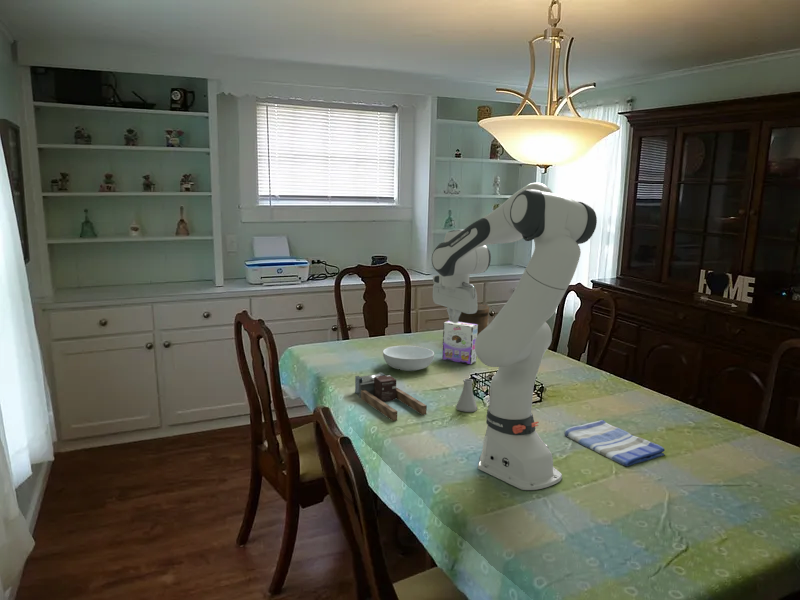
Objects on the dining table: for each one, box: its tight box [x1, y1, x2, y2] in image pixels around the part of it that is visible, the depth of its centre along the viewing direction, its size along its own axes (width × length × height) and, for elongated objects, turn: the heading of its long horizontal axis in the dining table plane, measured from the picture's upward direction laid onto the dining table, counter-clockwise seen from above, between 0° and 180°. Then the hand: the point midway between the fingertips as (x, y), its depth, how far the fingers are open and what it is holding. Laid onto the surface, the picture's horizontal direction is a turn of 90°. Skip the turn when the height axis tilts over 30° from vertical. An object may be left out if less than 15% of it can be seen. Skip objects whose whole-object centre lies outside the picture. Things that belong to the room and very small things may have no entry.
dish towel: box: [563, 419, 666, 467], centre depth 168 cm, size 17×24×3 cm
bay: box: [358, 381, 428, 422], centre depth 193 cm, size 24×12×5 cm, turn 31°
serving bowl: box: [382, 345, 435, 372], centre depth 235 cm, size 21×21×7 cm
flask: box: [455, 378, 478, 413], centre depth 192 cm, size 7×7×10 cm
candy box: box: [442, 320, 478, 365], centre depth 246 cm, size 14×6×16 cm, turn 58°
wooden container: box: [458, 303, 490, 336], centre depth 273 cm, size 15×15×22 cm
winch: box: [354, 371, 386, 396], centre depth 206 cm, size 4×10×6 cm, turn 121°
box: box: [374, 374, 397, 403], centre depth 200 cm, size 6×6×7 cm
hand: (453, 322), depth 189 cm, fingers closed
